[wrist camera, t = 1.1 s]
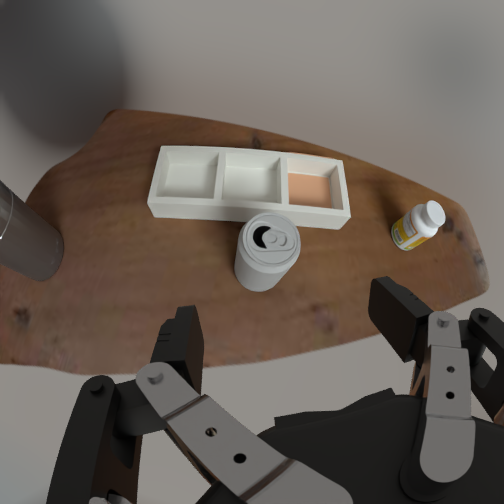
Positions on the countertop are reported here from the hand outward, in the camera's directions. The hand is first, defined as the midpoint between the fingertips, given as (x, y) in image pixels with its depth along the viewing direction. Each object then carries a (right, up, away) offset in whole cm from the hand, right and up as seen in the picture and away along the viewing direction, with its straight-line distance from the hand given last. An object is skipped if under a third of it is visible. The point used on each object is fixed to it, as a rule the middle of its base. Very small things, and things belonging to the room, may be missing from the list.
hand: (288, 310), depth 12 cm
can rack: (-2, +12, +30) cm, 32 cm away
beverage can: (-1, 0, +26) cm, 26 cm away
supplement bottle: (+24, +5, +30) cm, 39 cm away
